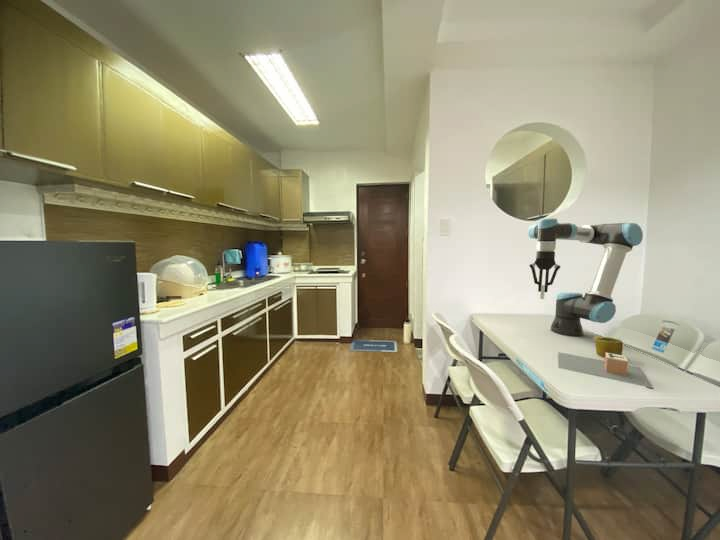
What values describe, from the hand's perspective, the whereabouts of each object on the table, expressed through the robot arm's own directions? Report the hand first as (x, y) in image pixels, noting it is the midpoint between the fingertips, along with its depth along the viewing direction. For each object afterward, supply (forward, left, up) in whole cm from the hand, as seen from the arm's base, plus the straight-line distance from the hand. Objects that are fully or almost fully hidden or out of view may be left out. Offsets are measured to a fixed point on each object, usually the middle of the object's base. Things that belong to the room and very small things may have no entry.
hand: (542, 298), depth 139 cm
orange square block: (+15, +27, -18) cm, 36 cm away
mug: (-5, +26, -25) cm, 36 cm away
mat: (+15, +22, -24) cm, 36 cm away
